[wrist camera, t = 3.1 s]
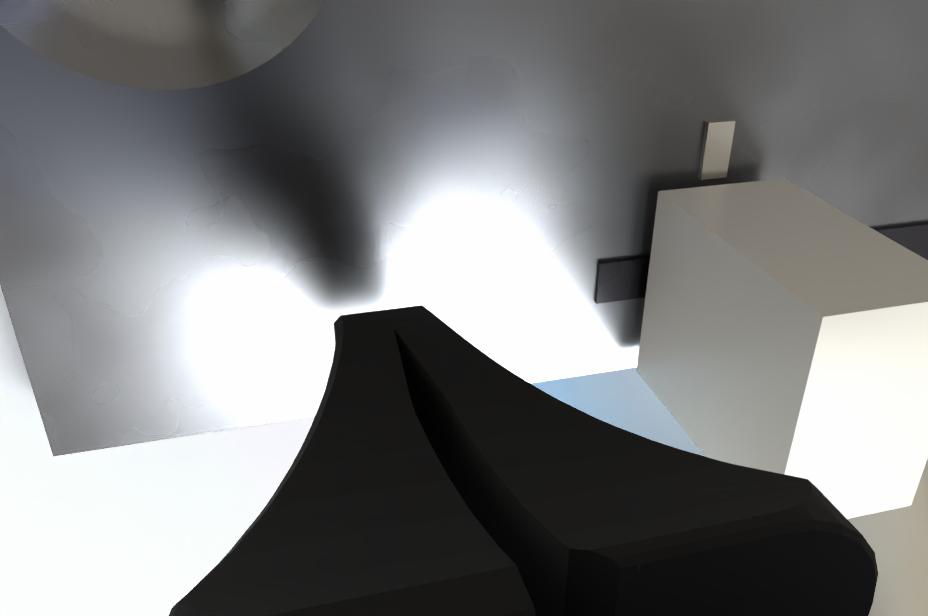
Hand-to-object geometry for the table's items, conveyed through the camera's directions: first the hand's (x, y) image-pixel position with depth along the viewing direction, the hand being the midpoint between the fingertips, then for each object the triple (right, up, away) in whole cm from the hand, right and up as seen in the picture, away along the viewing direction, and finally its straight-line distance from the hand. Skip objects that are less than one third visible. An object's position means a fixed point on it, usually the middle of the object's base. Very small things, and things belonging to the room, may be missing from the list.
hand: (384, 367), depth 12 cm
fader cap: (+6, +1, +3) cm, 6 cm away
